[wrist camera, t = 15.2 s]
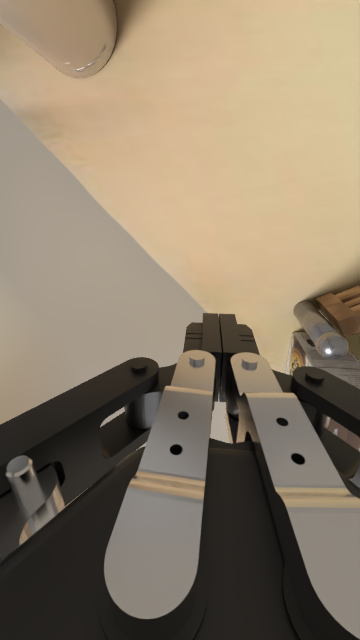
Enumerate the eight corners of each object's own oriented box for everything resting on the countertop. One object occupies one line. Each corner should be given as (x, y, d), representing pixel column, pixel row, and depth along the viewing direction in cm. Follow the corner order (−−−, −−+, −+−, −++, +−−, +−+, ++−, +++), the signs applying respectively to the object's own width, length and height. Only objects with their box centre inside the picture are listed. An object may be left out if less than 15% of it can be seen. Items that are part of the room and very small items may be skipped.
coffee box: (323, 382, 45) (378, 473, 30) (282, 380, 46) (317, 468, 31) (336, 332, 41) (405, 409, 26) (291, 330, 42) (335, 405, 27)
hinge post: (288, 305, 40) (317, 347, 29) (311, 296, 39) (349, 335, 28) (296, 323, 41) (327, 369, 30) (318, 314, 40) (357, 359, 29)
